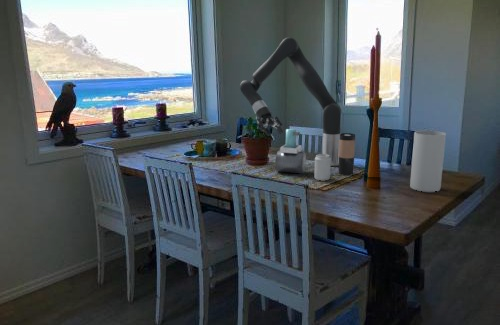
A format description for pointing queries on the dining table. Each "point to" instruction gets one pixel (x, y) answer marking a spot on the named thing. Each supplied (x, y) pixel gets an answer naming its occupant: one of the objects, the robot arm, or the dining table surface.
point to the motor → (290, 159)
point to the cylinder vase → (427, 160)
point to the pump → (291, 138)
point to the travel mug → (346, 153)
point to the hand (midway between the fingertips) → (275, 134)
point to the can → (322, 167)
